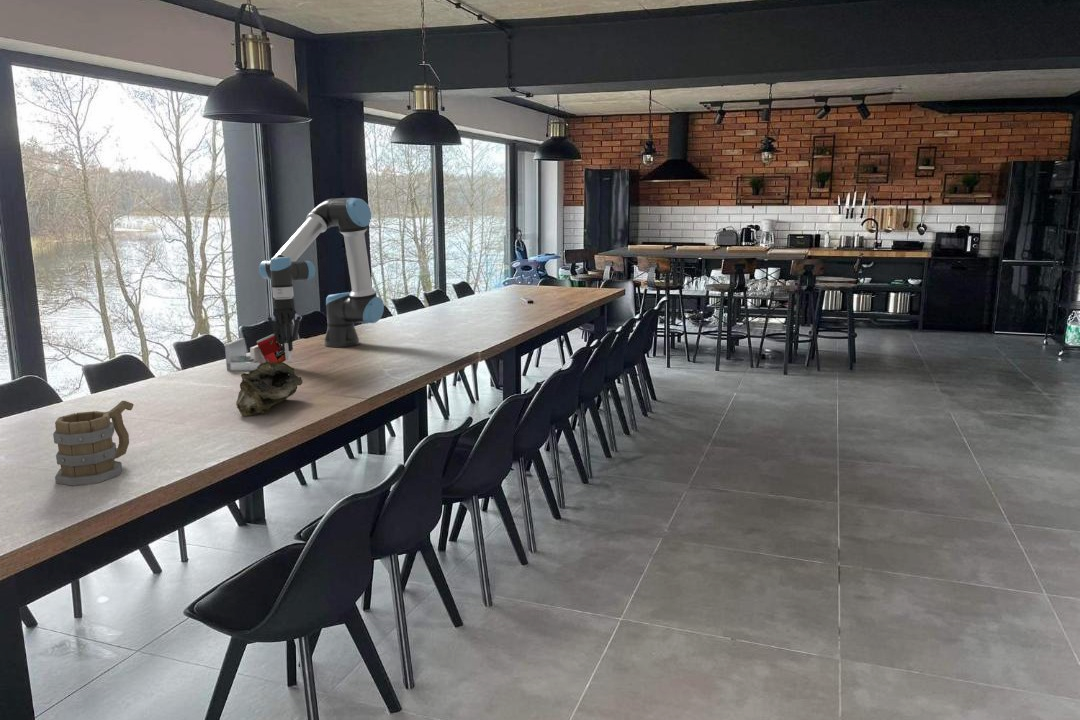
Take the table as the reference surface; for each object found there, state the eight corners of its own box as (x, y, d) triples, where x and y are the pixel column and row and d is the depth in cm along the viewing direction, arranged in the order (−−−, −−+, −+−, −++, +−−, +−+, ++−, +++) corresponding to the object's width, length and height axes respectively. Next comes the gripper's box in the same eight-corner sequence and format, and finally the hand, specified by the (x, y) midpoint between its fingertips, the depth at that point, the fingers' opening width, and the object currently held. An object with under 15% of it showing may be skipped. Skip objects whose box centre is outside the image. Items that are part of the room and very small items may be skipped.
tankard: (84, 488, 168) (76, 422, 165) (44, 481, 172) (35, 416, 169) (159, 461, 186) (153, 401, 183) (121, 455, 190) (114, 396, 188)
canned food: (282, 362, 292) (269, 336, 290) (265, 369, 294) (252, 343, 292) (291, 357, 299) (279, 331, 297) (275, 363, 301) (262, 338, 299)
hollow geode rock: (292, 410, 251) (261, 376, 252) (317, 384, 248) (285, 350, 248) (242, 431, 224) (208, 393, 225) (269, 403, 221) (234, 364, 221)
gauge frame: (242, 363, 304) (240, 338, 303) (274, 363, 304) (273, 338, 302) (226, 370, 291) (224, 344, 289) (260, 370, 290) (258, 344, 288)
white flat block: (262, 363, 302) (261, 343, 301) (266, 363, 302) (264, 343, 301) (248, 370, 289) (247, 349, 288) (252, 370, 289) (250, 349, 288)
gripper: (263, 299, 288) (268, 361, 292) (296, 298, 287) (301, 360, 291) (270, 297, 295) (275, 358, 299) (303, 296, 295) (308, 357, 299)
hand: (288, 359), depth 295 cm, fingers closed
